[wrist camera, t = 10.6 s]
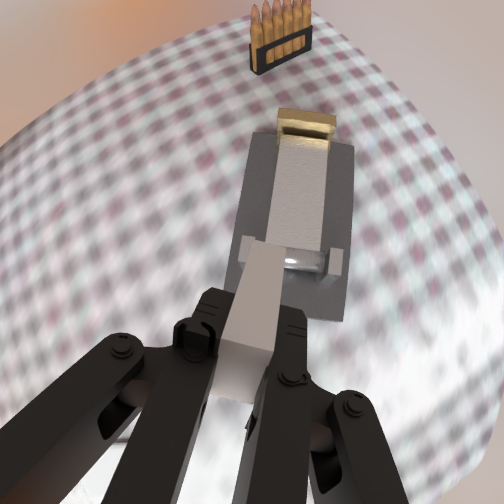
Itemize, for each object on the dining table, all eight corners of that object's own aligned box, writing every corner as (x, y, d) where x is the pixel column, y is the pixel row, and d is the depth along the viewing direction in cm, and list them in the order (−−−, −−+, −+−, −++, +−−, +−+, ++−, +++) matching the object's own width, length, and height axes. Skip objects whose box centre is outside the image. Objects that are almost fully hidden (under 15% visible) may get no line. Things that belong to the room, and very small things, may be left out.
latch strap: (323, 270, 27) (333, 139, 31) (256, 261, 28) (276, 131, 31) (320, 275, 29) (330, 149, 33) (257, 266, 30) (276, 142, 33)
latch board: (339, 322, 31) (356, 319, 25) (223, 305, 32) (211, 299, 26) (351, 152, 36) (364, 120, 29) (253, 139, 37) (250, 105, 31)
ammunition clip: (258, 76, 40) (253, 9, 28) (249, 69, 40) (243, 4, 29) (311, 49, 41) (317, -12, 29) (303, 44, 41) (307, -17, 30)
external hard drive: (72, 441, 29) (157, 439, 29) (93, 495, 27) (178, 498, 27) (65, 444, 28) (152, 443, 28) (87, 499, 26) (174, 504, 26)
